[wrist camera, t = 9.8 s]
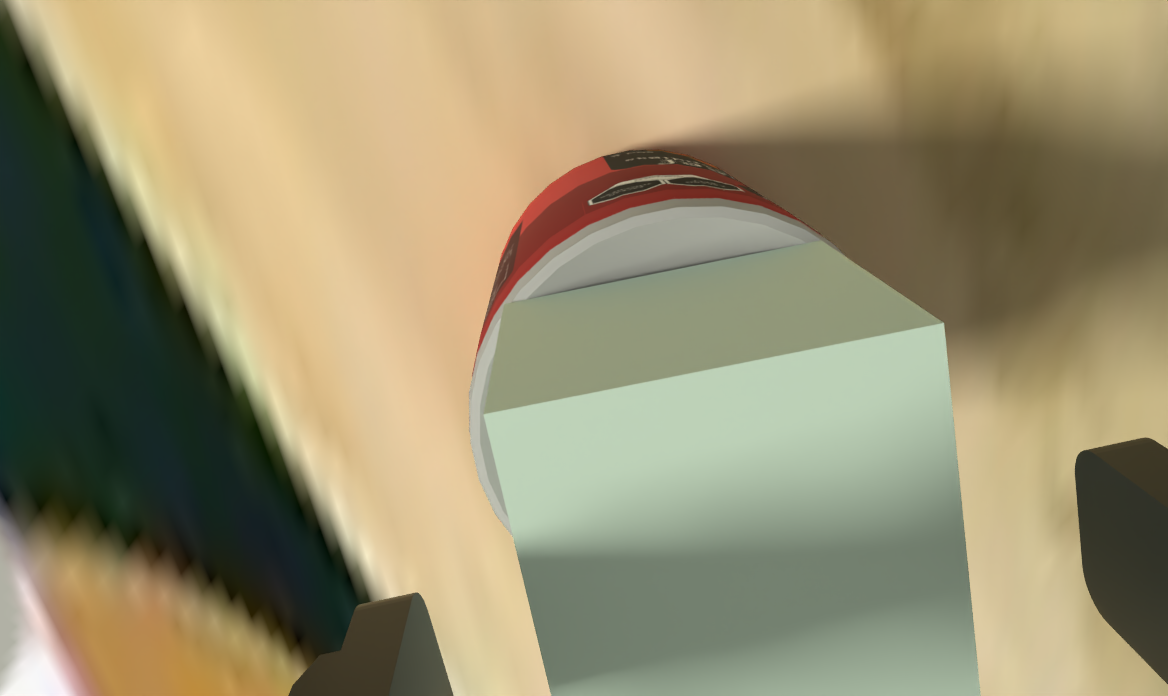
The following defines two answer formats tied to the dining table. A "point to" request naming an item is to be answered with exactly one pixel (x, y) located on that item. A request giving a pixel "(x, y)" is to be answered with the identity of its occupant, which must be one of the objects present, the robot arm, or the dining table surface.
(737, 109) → the dining table surface
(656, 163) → the canned food
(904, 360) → the sage block
